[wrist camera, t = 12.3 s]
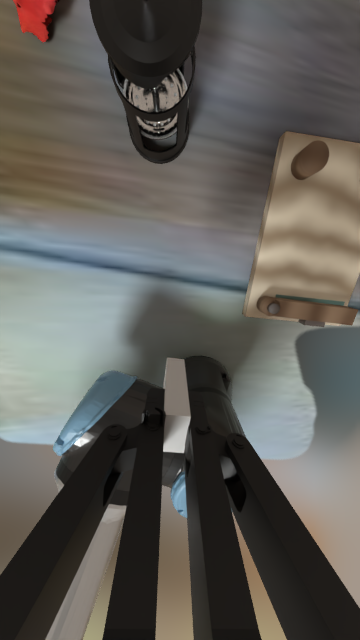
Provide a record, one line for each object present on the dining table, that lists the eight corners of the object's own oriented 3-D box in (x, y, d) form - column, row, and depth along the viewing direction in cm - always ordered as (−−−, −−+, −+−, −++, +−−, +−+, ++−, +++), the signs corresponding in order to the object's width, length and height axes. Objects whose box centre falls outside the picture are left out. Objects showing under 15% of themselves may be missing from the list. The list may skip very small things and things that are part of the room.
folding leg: (254, 310, 39) (263, 316, 35) (258, 294, 38) (268, 299, 35) (339, 320, 41) (356, 327, 37) (345, 305, 40) (363, 310, 36)
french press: (203, 129, 32) (270, -134, 10) (166, 180, 34) (155, 49, 12) (145, 63, 30) (70, -478, 8) (108, 122, 32) (-36, -177, 10)
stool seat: (332, 322, 43) (352, 331, 39) (242, 313, 42) (251, 321, 37) (392, 156, 34) (427, 140, 30) (279, 138, 33) (297, 118, 28)
